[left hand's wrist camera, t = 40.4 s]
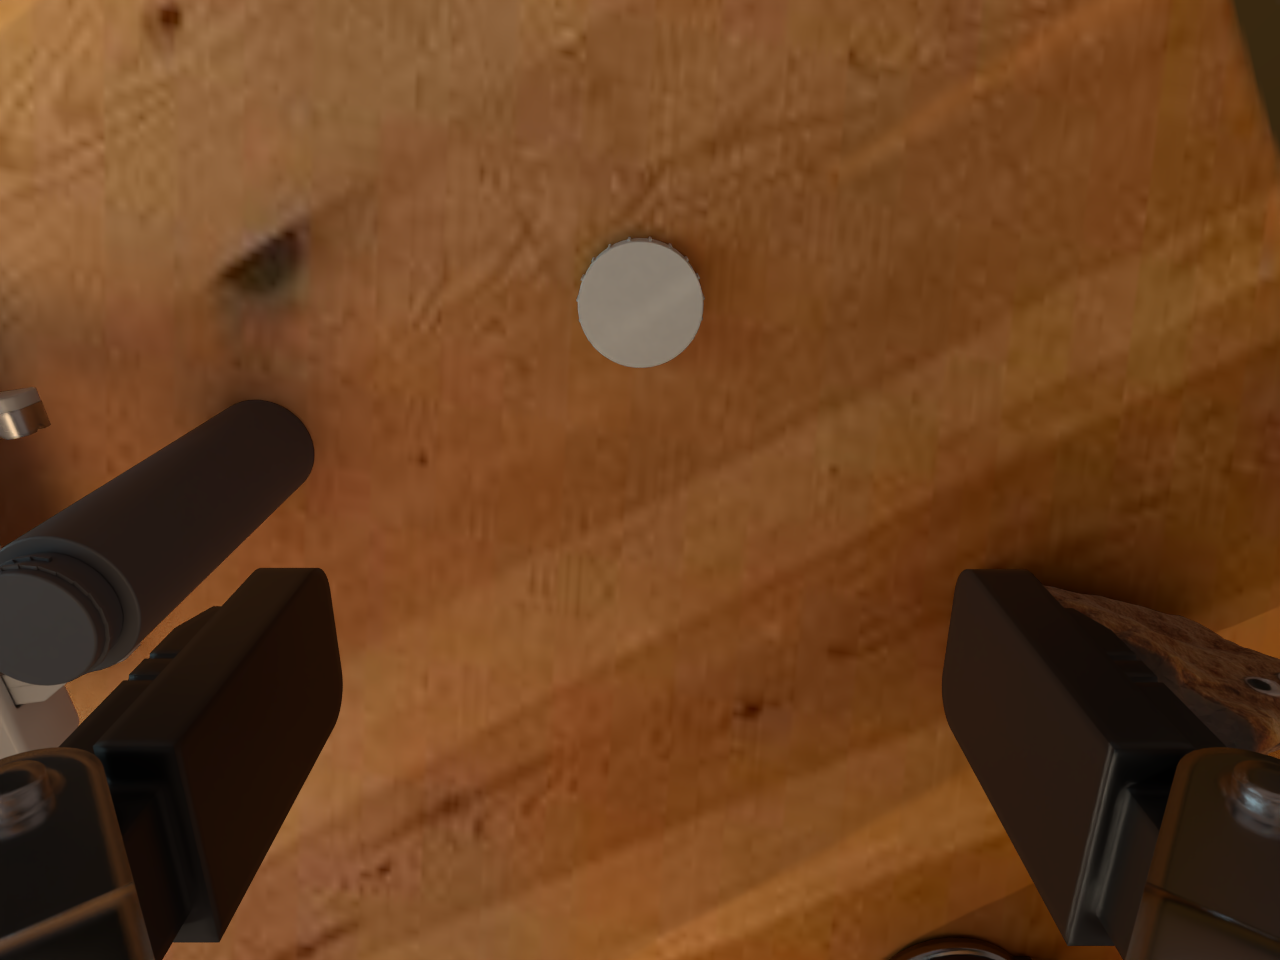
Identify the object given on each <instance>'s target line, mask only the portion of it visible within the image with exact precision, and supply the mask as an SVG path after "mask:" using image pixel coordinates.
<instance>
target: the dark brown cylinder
mask: <svg viewBox="0 0 1280 960" xmlns="http://www.w3.org/2000/svg"><path fill="white" fill-rule="evenodd" d="M313 462H314V449H313V444H312V440H311V438H310V435H309V433H308V431H307V429H306V428H305V426H304V425H303V424H302V422H301V421H300V420H299V419H298V418H297V417H296V416H295V415H294V414H292V413H291V412H290V411H288V410H287V409H285V408H283V407H282V406H279V405H277V404H275V403H271V402H268V401H262V400H248V401H243V402H239V403H237V404H234V405H233V406H231V407H229V408H227V409H226V410H224V411H223V412H221V413H219V414H218V415H216V416H214V417H213V418H211V419H210V420H208V421H206V422H205V423H203V424H202V425H200V426H198V427H197V428H195V429H193V430H192V431H190V432H189V433H187V434H185V435H184V436H182V437H180V438H179V439H177V440H176V441H174V442H172V443H171V444H169V445H168V446H166V447H164V448H163V449H161V450H159V451H158V452H156V453H155V454H153V455H151V456H150V457H148V458H147V459H145V460H143V461H142V462H140V463H138V464H137V465H135V466H134V467H132V468H130V469H129V470H127V471H126V472H124V473H122V474H121V475H119V476H117V477H116V478H114V479H113V480H111V481H109V482H108V483H106V484H105V485H103V486H101V487H100V488H98V489H96V490H95V491H93V492H92V493H90V494H88V495H87V496H85V497H84V498H82V499H80V500H79V501H77V502H75V503H74V504H72V505H71V506H69V507H67V508H66V509H64V510H63V511H61V512H59V513H58V514H56V515H54V516H53V517H51V518H50V519H48V520H46V521H45V522H43V523H42V524H40V525H38V526H37V527H35V528H33V529H32V530H30V531H29V532H27V533H25V534H24V535H22V536H21V537H19V538H17V539H16V540H14V541H12V542H11V543H9V544H8V545H6V546H5V547H3V548H2V549H1V550H0V672H2V673H3V674H5V675H7V676H9V677H11V678H13V679H16V680H18V681H21V682H25V683H29V684H34V685H44V686H50V685H59V684H63V683H67V682H70V681H72V680H74V679H76V678H78V677H80V676H82V675H84V674H86V673H89V672H93V671H98V670H102V669H105V668H108V667H110V666H112V665H114V664H116V663H118V662H119V661H121V660H122V659H123V658H125V657H126V656H127V655H128V654H129V653H130V652H131V651H132V650H133V649H134V648H135V647H136V646H137V645H138V644H139V643H140V642H141V641H142V640H143V639H144V638H145V637H146V636H147V635H148V634H149V633H150V632H151V631H152V630H153V629H154V628H155V627H156V626H157V625H158V624H159V623H160V622H161V621H162V620H164V619H165V618H166V617H167V616H168V615H169V614H170V613H171V612H172V611H173V610H174V609H175V608H176V607H177V606H178V605H179V604H180V603H181V602H182V601H183V600H184V599H185V598H186V597H187V596H188V595H189V594H190V593H191V592H192V591H193V590H194V589H195V588H196V587H197V586H198V585H199V584H200V583H201V582H202V581H203V580H204V579H205V578H206V577H207V576H208V575H209V574H211V573H212V572H213V571H214V570H215V569H216V568H217V567H218V566H219V565H220V564H221V563H222V562H223V561H224V560H225V559H226V558H227V557H228V556H229V555H230V554H231V553H232V552H233V551H234V550H235V549H236V548H237V547H238V546H239V545H240V544H241V543H242V542H243V541H244V540H245V539H246V538H247V537H248V536H249V535H250V534H251V533H252V532H253V531H254V530H255V529H256V528H258V527H259V526H260V525H261V524H262V523H263V522H264V521H265V520H266V519H267V518H268V517H269V516H270V515H271V514H272V513H273V512H274V511H275V510H276V509H277V508H278V507H279V506H280V505H281V504H282V503H283V502H284V501H285V500H286V499H287V498H288V497H289V496H290V495H291V494H292V493H293V492H294V491H295V490H296V489H297V488H298V487H299V486H300V485H301V484H302V483H303V482H304V481H305V480H306V479H307V477H308V476H309V474H310V472H311V469H312V466H313Z"/></svg>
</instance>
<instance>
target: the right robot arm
mask: <svg viewBox="0 0 1280 960" xmlns="http://www.w3.org/2000/svg"><path fill="white" fill-rule="evenodd" d="M50 425H51V424H50V421H49V419H48V416H47V414H46V411H45V409H44V406H43V403H42V401H41V400H40V397H39V395H38V392H37V389H36V388H35V387H29V388H23V389H16V390H9V391H3V392H0V440H1V439H3V438H4V439H6V440H10V439H16V438H21V437H24V436H27V435H30V434H33V433H35V432H37V430H38V429H42V428H46V427H48V426H50ZM1 549H2V547H1V545H0V550H1ZM140 645H141V644H140V643H139V644H138V645H137V646H136V647H135V648H134V649H133V650H132V651H131V652H130V653H129V654H128V655H127V656H126V657H125V658H123V659H122V660H121V661H119V662H122V661H124V660H125V659H127V658H128V657H129V656H130V655H131V654H132V653H133V652H134V651H135V650H136V649H137V648H138V647H139V646H140ZM119 662H118V663H119ZM116 664H117V663H116ZM65 684H66V683H63V684H59V685H50V686H44V685H34V684H29V683H25V682H21V681H18V680H16V679H13V678H11V677H9V676H7V675H5V674H3V673H2V672H0V759H3V758H5V757H8V756H12V755H15V754H19V753H22V752H27V751H32V750H36V749H44V748H52V747H59V746H60V745H61V744H62V743H63V742H64V741H65V740H66V739H67V738H68V737H69V736H70V735H71V734H72V733H73V731H74V730H75V729H76V728H77V727H78V725H79V716H78V713H77V711H76V709H75V707H74V704H73V702H72V700H71V698H70V696H69V694H68V691H67V689H66V687H65Z"/></svg>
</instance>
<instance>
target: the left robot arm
mask: <svg viewBox="0 0 1280 960" xmlns="http://www.w3.org/2000/svg"><path fill="white" fill-rule="evenodd" d="M1157 678H1158V677H1157V676H1156V675H1155V674H1154V673H1153V672H1152V671H1151V670H1150V669H1149V668H1148V667H1147V666H1146V665H1145V664H1144V663H1143V662H1142V661H1141V660H1137V659H1136V654H1135V653H1134V652H1133V651H1132V650H1131V649H1130V648H1129V647H1128V646H1127V645H1126V644H1125V643H1124V642H1123V641H1122V640H1121V639H1120V638H1119V637H1118V636H1117V635H1116V634H1115V633H1114V632H1113V631H1112V630H1111V629H1109V628H1107V627H1105V626H1104V625H1102V624H1100V623H1098V622H1097V621H1095V620H1093V619H1091V618H1090V617H1088V616H1086V615H1084V614H1082V613H1081V612H1079V611H1077V610H1075V609H1074V608H1064V607H1063V606H1062V605H1061V604H1060V603H1059V602H1058V601H1057V600H1056V599H1055V598H1054V597H1053V595H1052V594H1051V593H1050V592H1049V591H1048V590H1047V589H1046V588H1045V587H1044V586H1043V585H1042V584H1041V583H1040V582H1039V580H1038V579H1037V578H1036V577H1035V576H1034V575H1033V574H1032V573H1031V572H1030V571H1028V570H1025V569H966V570H964V571H963V572H961V574H960V575H959V577H958V580H957V583H956V587H955V593H954V599H953V606H952V613H951V620H950V627H949V634H948V641H947V647H946V654H945V661H944V668H943V676H942V698H943V705H944V711H945V715H946V718H947V721H948V724H949V726H950V728H951V730H952V732H953V734H954V736H955V738H956V740H957V741H958V743H959V745H960V747H961V749H962V751H963V753H964V754H965V756H966V758H967V760H968V762H969V764H970V766H971V767H972V769H973V771H974V773H975V775H976V777H977V779H978V780H979V782H980V784H981V786H982V788H983V790H984V791H985V793H986V795H987V797H988V799H989V801H990V803H991V804H992V806H993V808H994V810H995V812H996V814H997V816H998V817H999V819H1000V821H1001V823H1002V825H1003V827H1004V829H1005V830H1006V832H1007V834H1008V836H1009V838H1010V840H1011V842H1012V843H1013V845H1014V847H1015V849H1016V851H1017V853H1018V854H1019V856H1020V858H1021V860H1022V862H1023V864H1024V866H1025V867H1026V869H1027V871H1028V873H1029V875H1030V877H1031V879H1032V880H1033V882H1034V884H1035V886H1036V888H1037V890H1038V892H1039V893H1040V895H1041V897H1042V899H1043V901H1044V903H1045V904H1046V906H1047V908H1048V910H1049V912H1050V914H1051V916H1052V917H1053V919H1054V921H1055V923H1056V925H1057V927H1058V929H1059V930H1060V932H1061V934H1062V936H1063V938H1064V940H1065V942H1066V943H1067V945H1068V946H1116V948H1117V950H1118V952H1119V953H1120V955H1121V957H1122V958H1123V960H1280V759H1277V758H1275V757H1272V756H1268V755H1265V754H1261V753H1258V752H1253V751H1248V750H1244V749H1236V748H1228V747H1226V746H1225V744H1224V743H1223V742H1222V741H1221V740H1220V739H1219V738H1218V737H1217V736H1216V735H1215V734H1214V733H1213V732H1212V731H1211V730H1210V729H1209V728H1208V727H1207V726H1206V725H1205V724H1204V723H1203V722H1202V721H1201V720H1200V719H1199V718H1198V717H1197V716H1196V715H1195V714H1194V713H1193V712H1192V711H1191V710H1190V709H1189V708H1188V707H1187V706H1186V705H1185V704H1184V703H1183V702H1182V701H1181V700H1180V699H1179V698H1178V697H1177V696H1176V695H1175V694H1174V693H1173V692H1172V691H1171V690H1170V689H1169V688H1168V687H1167V686H1166V685H1165V684H1164V683H1163V682H1158V679H1157ZM342 691H343V679H342V669H341V662H340V655H339V648H338V642H337V635H336V628H335V621H334V614H333V607H332V600H331V593H330V587H329V582H328V579H327V576H326V574H325V573H324V571H323V570H322V569H320V568H259V569H257V570H255V571H254V572H253V573H252V574H251V575H250V576H249V577H248V578H247V580H246V581H245V582H244V583H243V584H242V585H241V586H240V587H239V588H238V589H237V590H236V591H235V593H234V594H233V595H232V596H231V597H230V598H229V599H228V600H227V601H226V602H225V603H224V604H223V606H213V607H211V608H209V609H207V610H206V611H204V612H202V613H200V614H199V615H197V616H195V617H193V618H192V619H190V620H188V621H186V622H185V623H183V624H181V625H179V626H178V627H176V628H174V629H173V630H172V631H171V632H170V633H169V635H168V636H167V637H166V638H165V639H164V640H163V641H162V642H161V643H160V644H159V645H158V646H157V647H156V648H155V649H154V650H153V651H152V652H151V653H150V658H149V659H144V660H143V661H142V662H141V663H140V664H139V665H138V666H137V667H136V668H135V669H134V670H133V671H132V672H131V673H130V674H129V680H123V681H122V682H121V684H120V685H119V686H118V687H117V688H116V689H115V690H114V691H113V692H112V693H111V694H110V695H109V696H108V697H107V698H106V699H105V700H104V701H103V702H102V703H101V704H100V705H99V706H98V707H97V708H96V709H95V710H94V711H93V712H92V713H91V714H90V715H89V716H88V717H87V718H86V719H85V720H84V721H83V722H82V723H81V724H80V725H79V726H78V727H77V728H76V729H75V730H74V731H73V733H72V734H71V735H70V736H69V737H68V738H67V739H66V740H65V741H64V742H63V743H62V744H61V745H60V746H59V747H52V748H44V749H36V750H32V751H27V752H22V753H19V754H15V755H12V756H8V757H5V758H3V759H0V960H162V959H163V957H164V956H165V954H166V952H167V951H168V949H169V947H170V946H171V944H172V942H220V940H221V938H222V936H223V934H224V932H225V931H226V929H227V927H228V925H229V923H230V921H231V919H232V917H233V916H234V914H235V912H236V910H237V908H238V906H239V904H240V902H241V901H242V899H243V897H244V895H245V893H246V891H247V889H248V887H249V886H250V884H251V882H252V880H253V878H254V876H255V874H256V872H257V871H258V869H259V867H260V865H261V863H262V861H263V859H264V857H265V856H266V854H267V852H268V850H269V848H270V846H271V844H272V842H273V841H274V839H275V837H276V835H277V833H278V831H279V829H280V827H281V826H282V824H283V822H284V820H285V818H286V816H287V814H288V812H289V811H290V809H291V807H292V805H293V803H294V801H295V799H296V797H297V796H298V794H299V792H300V790H301V788H302V786H303V784H304V782H305V781H306V779H307V777H308V775H309V773H310V771H311V769H312V767H313V766H314V764H315V762H316V760H317V758H318V756H319V754H320V752H321V751H322V749H323V747H324V745H325V743H326V741H327V739H328V737H329V736H330V734H331V732H332V730H333V728H334V726H335V724H336V721H337V719H338V715H339V712H340V707H341V701H342ZM889 960H1032V959H1031V958H1030V957H1027V956H1022V957H1018V956H1011V955H1010V954H1009V953H1008V952H1006V951H1005V950H1003V949H1001V948H1000V947H998V946H996V945H993V944H991V943H988V942H985V941H981V940H977V939H971V938H957V937H953V938H941V939H935V940H930V941H926V942H922V943H919V944H916V945H914V946H911V947H909V948H907V949H905V950H903V951H901V952H899V953H898V954H896V955H894V956H893V957H891V958H890V959H889Z"/></svg>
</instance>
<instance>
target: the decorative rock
mask: <svg viewBox="0 0 1280 960" xmlns="http://www.w3.org/2000/svg"><path fill="white" fill-rule="evenodd" d="M1043 586H1044V585H1043ZM1044 587H1045V588H1046V589H1047V590H1048V591H1049V592H1050V593H1051V594H1052V595H1053V597H1054V598H1055V599H1056V600H1057V601H1058V602H1059V603H1060V604H1061V605H1062V606H1063V607H1064V608H1074V609H1075V610H1077V611H1079V612H1081V613H1082V614H1084V615H1086V616H1088V617H1090V618H1091V619H1093V620H1095V621H1097V622H1098V623H1100V624H1102V625H1104V626H1105V627H1107V628H1109V629H1111V630H1112V631H1113V632H1114V633H1115V634H1116V635H1117V636H1118V637H1119V638H1120V639H1121V640H1122V641H1123V642H1124V643H1125V644H1126V645H1127V646H1128V647H1129V648H1130V649H1131V650H1132V651H1133V652H1134V653H1135V654H1136V659H1137V660H1141V661H1142V662H1143V663H1144V664H1145V665H1146V666H1147V667H1148V668H1149V669H1150V670H1151V671H1152V672H1153V673H1154V674H1155V675H1156V676H1157V677H1158V678H1157V679H1158V682H1163V683H1164V684H1165V685H1166V686H1167V687H1168V688H1169V689H1170V690H1171V691H1172V692H1173V693H1174V694H1175V695H1176V696H1177V697H1178V698H1179V699H1180V700H1181V701H1182V702H1183V703H1184V704H1185V705H1186V706H1187V707H1188V708H1189V709H1190V710H1191V711H1192V712H1193V713H1194V714H1195V715H1196V716H1197V717H1198V718H1199V719H1200V720H1201V721H1202V722H1203V723H1204V724H1205V725H1206V726H1207V727H1208V728H1209V729H1210V730H1211V731H1212V732H1213V733H1214V734H1215V735H1216V736H1217V737H1218V738H1219V739H1220V740H1221V741H1222V742H1223V743H1224V744H1225V746H1226V747H1228V748H1236V749H1244V750H1248V751H1253V752H1258V753H1261V754H1265V755H1267V754H1268V753H1270V752H1273V751H1276V750H1279V749H1280V659H1278V658H1274V657H1271V656H1268V655H1265V654H1262V653H1260V652H1257V651H1254V650H1251V649H1248V648H1243V647H1241V646H1239V645H1237V644H1235V643H1233V642H1231V641H1228V640H1226V639H1223V638H1222V637H1221V636H1219V635H1218V634H1216V633H1214V632H1213V631H1211V630H1210V629H1208V628H1206V627H1204V626H1202V625H1201V624H1199V623H1197V622H1195V621H1192V620H1190V619H1187V618H1185V617H1182V616H1179V615H1170V614H1165V613H1161V612H1158V611H1155V610H1152V609H1149V608H1146V607H1142V606H1139V605H1134V604H1130V603H1126V602H1122V601H1118V600H1113V599H1109V598H1106V597H1103V596H1097V595H1088V594H1080V593H1075V592H1071V591H1067V590H1063V589H1059V588H1056V587H1051V586H1044Z"/></svg>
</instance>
